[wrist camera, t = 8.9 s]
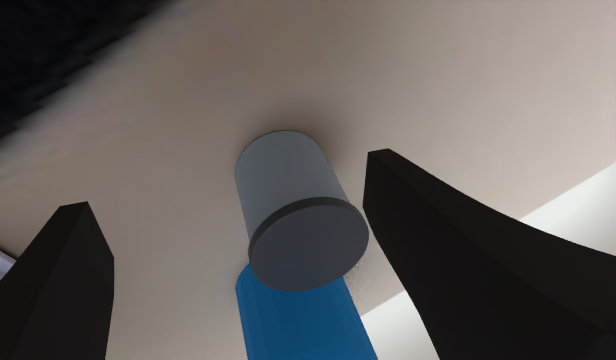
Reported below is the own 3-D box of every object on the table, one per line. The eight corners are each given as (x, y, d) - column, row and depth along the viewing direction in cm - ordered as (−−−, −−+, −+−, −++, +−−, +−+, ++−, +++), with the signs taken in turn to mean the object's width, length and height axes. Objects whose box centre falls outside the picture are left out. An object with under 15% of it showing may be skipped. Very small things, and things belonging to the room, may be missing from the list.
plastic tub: (261, 220, 24) (284, 307, 20) (211, 160, 21) (225, 248, 16) (340, 177, 24) (383, 255, 19) (303, 108, 21) (345, 183, 16)
